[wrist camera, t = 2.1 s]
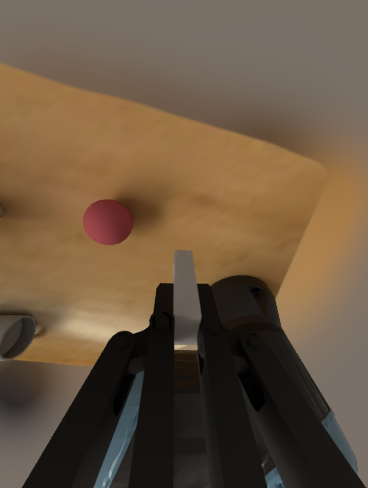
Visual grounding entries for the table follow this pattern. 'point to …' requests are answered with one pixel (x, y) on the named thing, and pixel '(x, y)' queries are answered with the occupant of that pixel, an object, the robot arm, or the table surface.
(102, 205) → the ball
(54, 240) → the table surface
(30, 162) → the table surface
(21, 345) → the ceramic mug
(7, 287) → the table surface
